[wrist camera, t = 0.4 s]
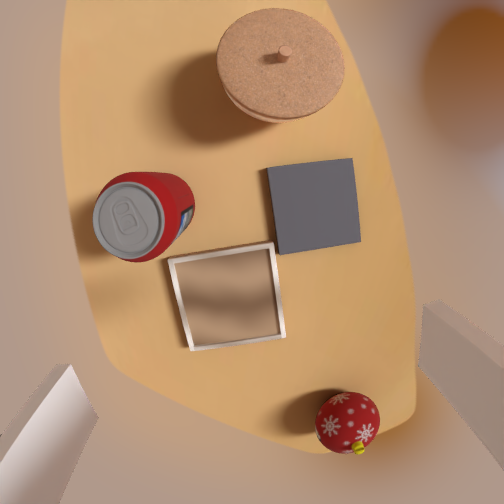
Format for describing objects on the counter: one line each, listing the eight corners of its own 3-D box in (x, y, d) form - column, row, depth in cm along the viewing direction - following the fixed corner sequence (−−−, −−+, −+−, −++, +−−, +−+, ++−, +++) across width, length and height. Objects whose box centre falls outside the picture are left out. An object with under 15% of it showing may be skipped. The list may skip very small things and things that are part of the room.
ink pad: (266, 168, 31) (267, 167, 30) (349, 158, 31) (352, 158, 30) (278, 252, 33) (279, 255, 32) (357, 240, 34) (361, 241, 33)
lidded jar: (268, 152, 31) (280, 142, 22) (199, 80, 29) (186, 46, 20) (341, 93, 30) (376, 67, 21) (275, 25, 27) (287, -20, 18)
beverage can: (149, 246, 33) (107, 282, 21) (125, 188, 31) (71, 197, 19) (206, 222, 32) (189, 248, 21) (182, 162, 31) (151, 154, 19)
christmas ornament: (365, 416, 40) (388, 462, 30) (310, 429, 40) (324, 479, 30) (369, 373, 38) (398, 420, 28) (308, 387, 38) (325, 440, 28)
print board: (170, 256, 33) (167, 259, 32) (272, 239, 33) (273, 242, 32) (191, 345, 36) (190, 351, 34) (284, 331, 36) (286, 337, 34)
